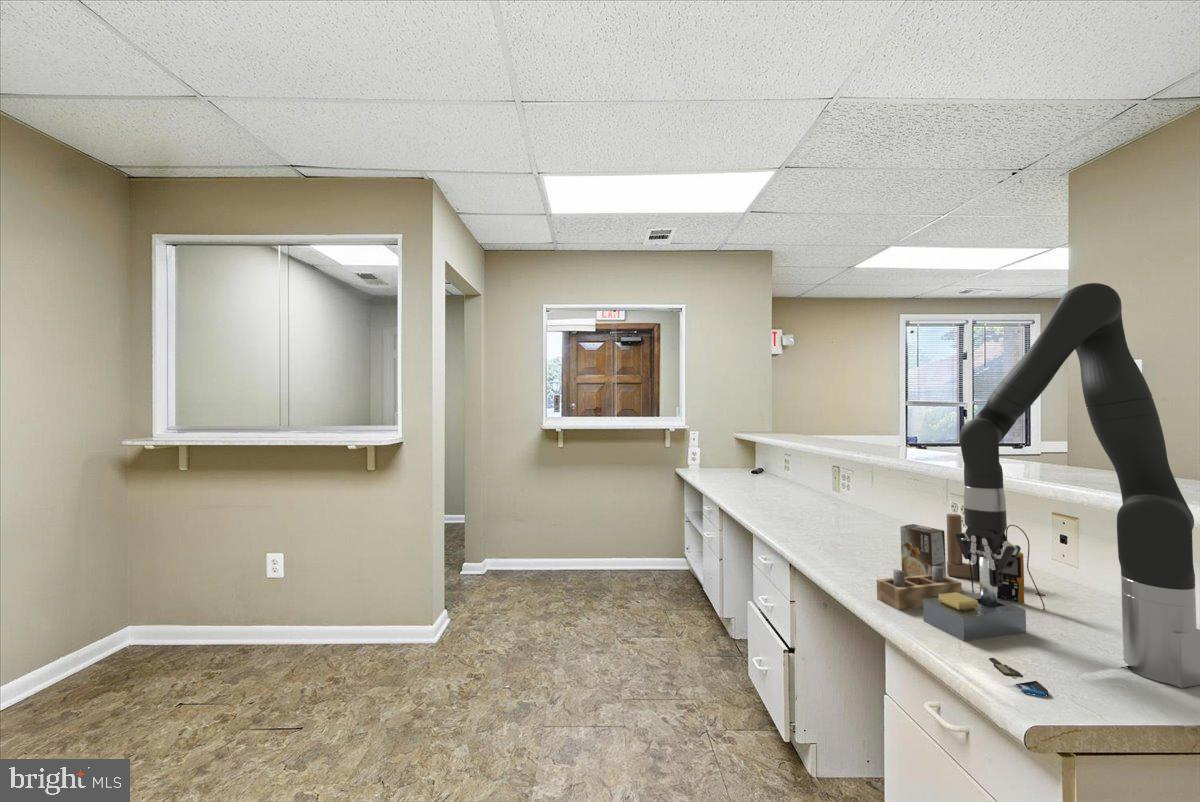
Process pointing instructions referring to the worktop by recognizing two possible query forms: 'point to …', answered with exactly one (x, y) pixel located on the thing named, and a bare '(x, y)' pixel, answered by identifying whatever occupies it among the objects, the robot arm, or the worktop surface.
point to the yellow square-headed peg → (958, 601)
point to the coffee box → (922, 550)
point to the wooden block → (956, 549)
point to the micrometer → (1007, 671)
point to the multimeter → (1013, 579)
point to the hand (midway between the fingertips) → (988, 583)
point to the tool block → (975, 619)
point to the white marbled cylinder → (986, 584)
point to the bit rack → (915, 588)
